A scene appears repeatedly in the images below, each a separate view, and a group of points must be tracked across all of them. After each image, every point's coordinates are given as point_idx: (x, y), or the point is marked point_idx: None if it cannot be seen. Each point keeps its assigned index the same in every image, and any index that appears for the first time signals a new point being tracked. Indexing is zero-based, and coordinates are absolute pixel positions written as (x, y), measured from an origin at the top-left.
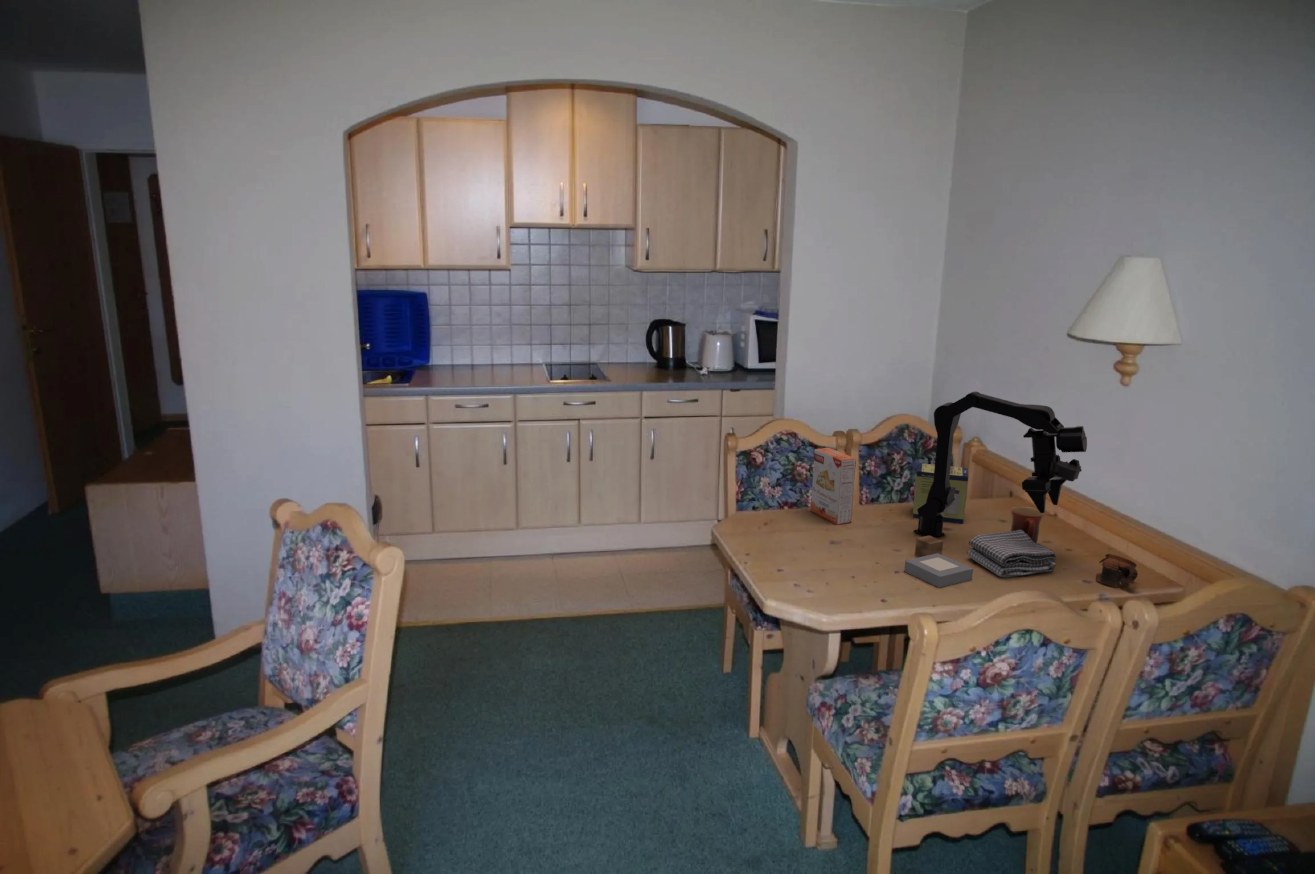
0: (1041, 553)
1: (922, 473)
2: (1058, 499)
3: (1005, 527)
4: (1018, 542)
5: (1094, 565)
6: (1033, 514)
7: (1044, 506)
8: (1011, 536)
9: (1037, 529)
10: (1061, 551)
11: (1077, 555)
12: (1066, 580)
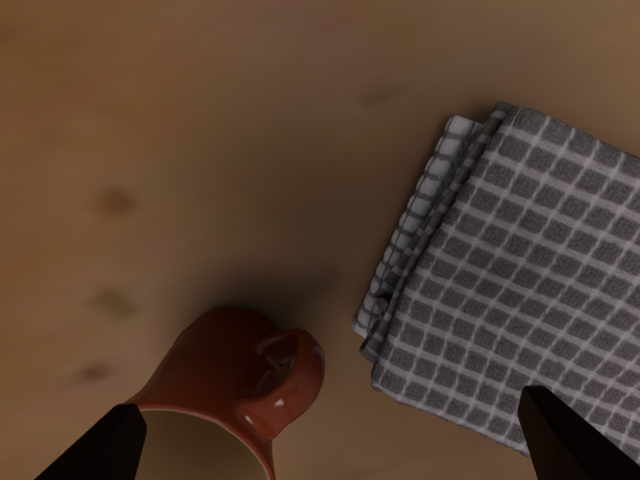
0: (630, 159)
1: None
2: (69, 453)
3: None
4: (517, 331)
5: (198, 15)
6: None
7: (620, 458)
8: (494, 387)
9: (205, 354)
10: (165, 212)
11: (145, 140)
12: (536, 7)
